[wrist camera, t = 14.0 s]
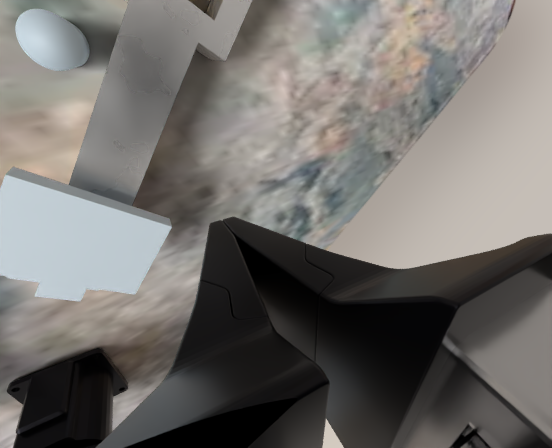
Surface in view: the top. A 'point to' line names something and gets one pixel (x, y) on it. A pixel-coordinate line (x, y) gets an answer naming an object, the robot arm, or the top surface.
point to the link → (147, 87)
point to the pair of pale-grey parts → (70, 204)
